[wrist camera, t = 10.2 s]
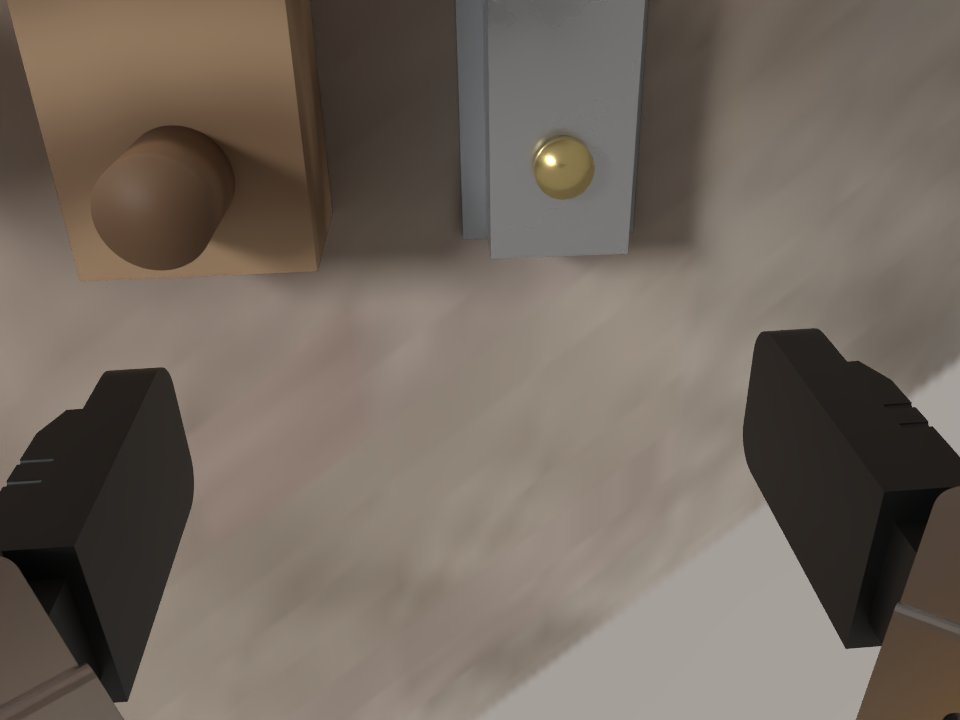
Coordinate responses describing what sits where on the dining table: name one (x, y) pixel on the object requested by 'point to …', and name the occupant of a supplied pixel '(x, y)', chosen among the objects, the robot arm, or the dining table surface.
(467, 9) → the mat
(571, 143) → the lever cap
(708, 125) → the dining table surface
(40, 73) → the plane body
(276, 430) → the dining table surface
